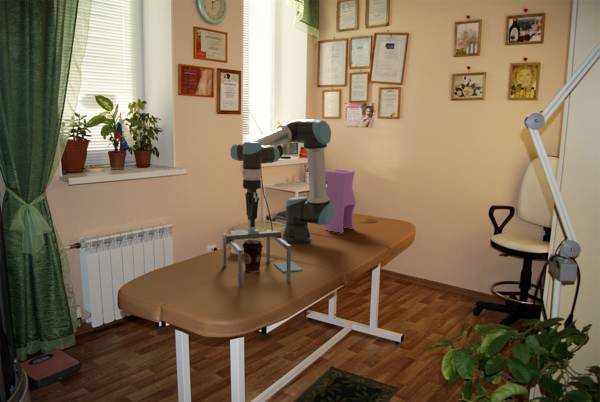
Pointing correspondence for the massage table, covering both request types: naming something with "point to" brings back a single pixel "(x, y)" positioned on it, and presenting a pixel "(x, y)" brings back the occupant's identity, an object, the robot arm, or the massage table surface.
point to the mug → (239, 240)
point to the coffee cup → (252, 255)
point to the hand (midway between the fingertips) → (251, 233)
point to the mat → (283, 267)
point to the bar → (251, 235)
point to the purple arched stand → (340, 199)
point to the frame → (266, 255)
